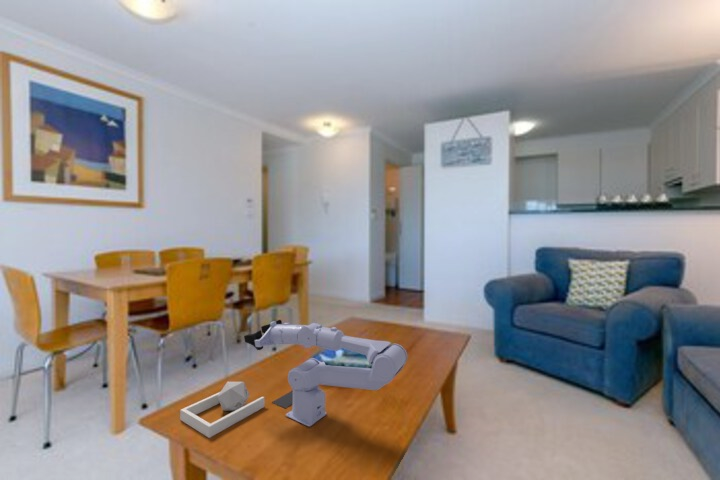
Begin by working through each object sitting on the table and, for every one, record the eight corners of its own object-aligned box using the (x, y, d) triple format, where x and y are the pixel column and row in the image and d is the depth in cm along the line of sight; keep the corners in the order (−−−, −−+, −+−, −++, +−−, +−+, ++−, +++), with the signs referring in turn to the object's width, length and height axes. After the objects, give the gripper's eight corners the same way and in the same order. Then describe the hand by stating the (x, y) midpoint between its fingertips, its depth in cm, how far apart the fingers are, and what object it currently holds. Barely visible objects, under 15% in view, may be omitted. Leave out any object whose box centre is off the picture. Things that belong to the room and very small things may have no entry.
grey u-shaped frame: (264, 406, 101) (264, 397, 101) (209, 437, 86) (209, 426, 86) (236, 393, 109) (236, 384, 109) (180, 419, 93) (180, 409, 93)
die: (229, 422, 94) (250, 391, 97) (206, 404, 95) (228, 374, 98) (238, 416, 102) (258, 388, 104) (217, 400, 103) (237, 372, 106)
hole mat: (307, 395, 109) (307, 394, 109) (285, 408, 100) (285, 408, 100) (294, 390, 112) (294, 389, 112) (271, 402, 104) (271, 402, 104)
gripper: (298, 313, 106) (267, 314, 112) (268, 331, 93) (234, 330, 99) (302, 334, 107) (270, 334, 113) (273, 354, 94) (239, 352, 100)
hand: (254, 333), depth 106 cm, fingers open, 7 cm apart
